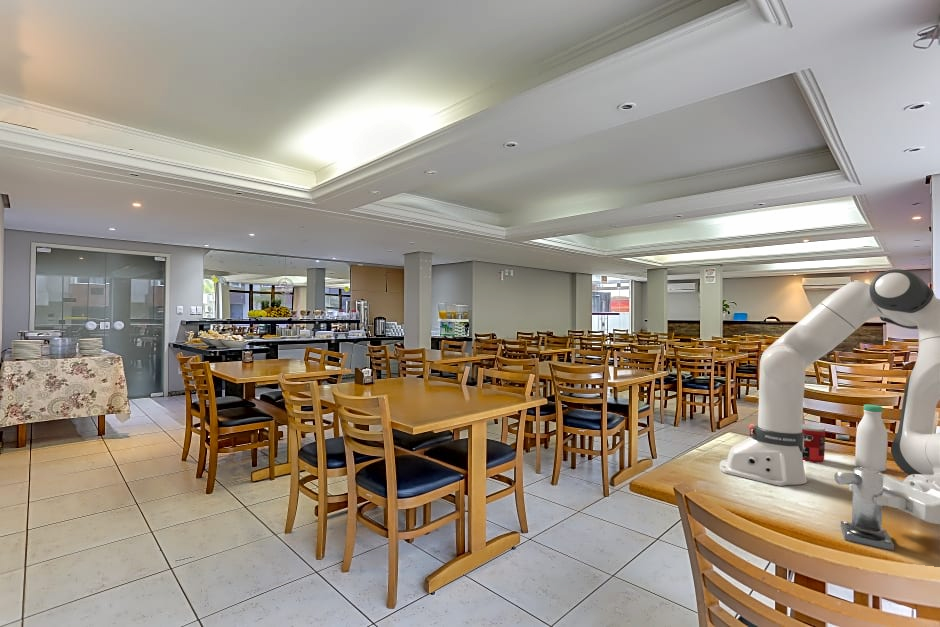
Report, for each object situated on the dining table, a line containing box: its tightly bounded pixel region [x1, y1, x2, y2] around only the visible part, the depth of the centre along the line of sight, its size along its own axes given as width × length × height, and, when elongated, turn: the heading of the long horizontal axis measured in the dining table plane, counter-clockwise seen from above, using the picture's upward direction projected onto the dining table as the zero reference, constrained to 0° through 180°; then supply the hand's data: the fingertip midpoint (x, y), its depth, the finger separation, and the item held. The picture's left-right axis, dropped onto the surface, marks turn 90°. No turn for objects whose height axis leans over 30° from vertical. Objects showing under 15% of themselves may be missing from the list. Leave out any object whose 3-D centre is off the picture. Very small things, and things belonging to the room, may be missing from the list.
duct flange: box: [840, 520, 895, 551], centre depth 105 cm, size 8×8×2 cm
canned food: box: [802, 423, 826, 463], centre depth 161 cm, size 8×8×11 cm
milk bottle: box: [854, 403, 889, 472], centre depth 153 cm, size 8×8×20 cm
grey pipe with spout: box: [834, 466, 884, 531], centre depth 104 cm, size 9×5×12 cm, turn 90°
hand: (863, 494), depth 104 cm, fingers closed on grey pipe with spout, 5 cm apart
